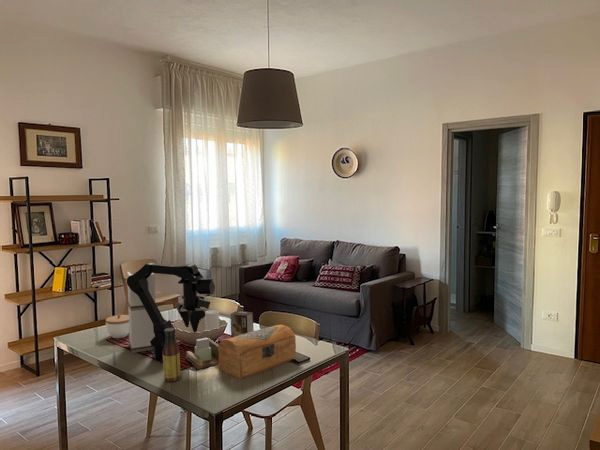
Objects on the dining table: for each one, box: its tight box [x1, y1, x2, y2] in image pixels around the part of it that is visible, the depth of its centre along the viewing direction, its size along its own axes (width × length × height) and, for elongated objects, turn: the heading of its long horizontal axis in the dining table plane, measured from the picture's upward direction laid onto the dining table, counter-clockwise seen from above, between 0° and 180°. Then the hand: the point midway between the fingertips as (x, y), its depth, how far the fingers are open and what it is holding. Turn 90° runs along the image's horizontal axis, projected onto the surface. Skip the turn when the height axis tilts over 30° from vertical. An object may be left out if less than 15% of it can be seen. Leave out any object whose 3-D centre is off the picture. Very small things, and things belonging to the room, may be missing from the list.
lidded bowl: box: [105, 313, 129, 339], centre depth 228 cm, size 13×13×11 cm
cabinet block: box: [194, 337, 211, 362], centre depth 193 cm, size 5×6×8 cm
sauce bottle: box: [162, 328, 182, 383], centre depth 174 cm, size 7×6×20 cm
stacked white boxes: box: [126, 271, 156, 354], centre depth 210 cm, size 11×11×35 cm
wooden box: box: [218, 324, 297, 380], centre depth 189 cm, size 30×16×14 cm, turn 134°
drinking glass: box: [204, 309, 220, 343], centre depth 217 cm, size 7×7×15 cm
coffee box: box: [230, 310, 255, 338], centre depth 210 cm, size 9×6×16 cm
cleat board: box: [185, 338, 219, 370], centre depth 194 cm, size 12×14×7 cm
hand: (191, 329), depth 195 cm, fingers open, 9 cm apart
